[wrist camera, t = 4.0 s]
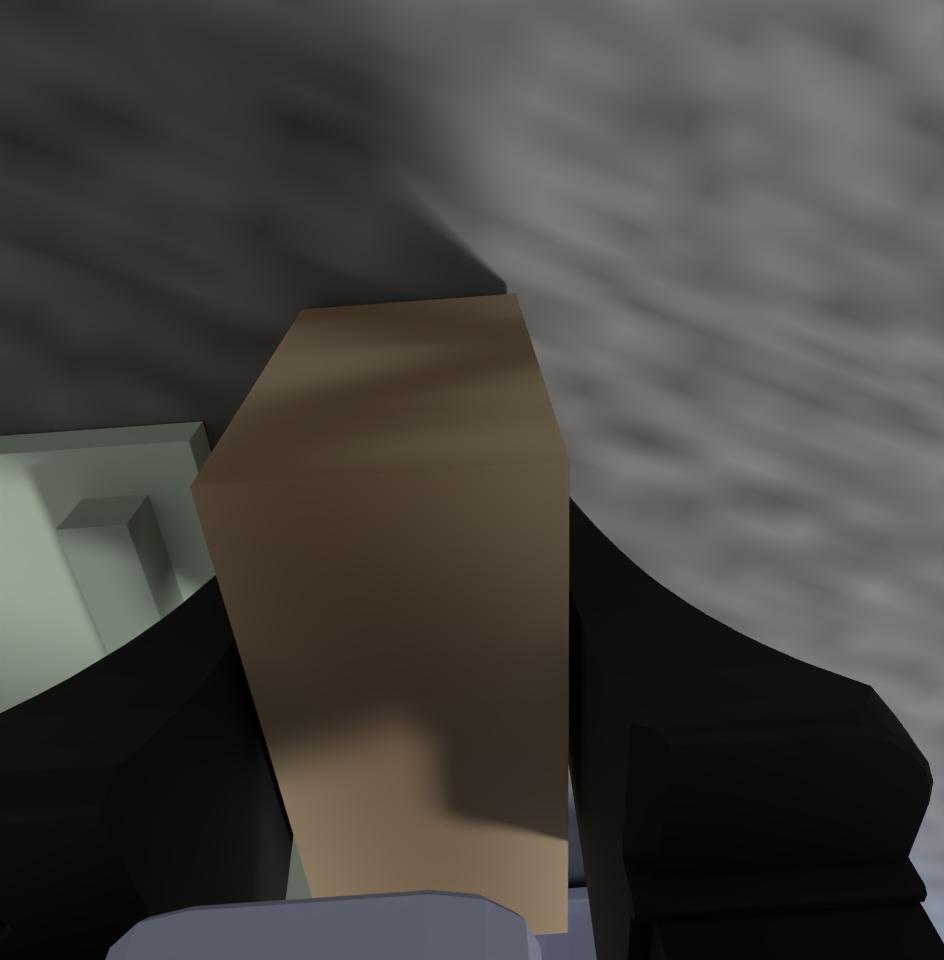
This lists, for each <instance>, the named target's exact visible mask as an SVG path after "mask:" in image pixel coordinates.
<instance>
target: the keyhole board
mask: <svg viewBox="0 0 944 960" xmlns="http://www.w3.org/2000/svg"><path fill="white" fill-rule="evenodd" d="M210 454H211V450H210V446H209V443H208V439H207V435H206V432H205V428H204V424H203V421H201V422H187V423H173V424H160V425H146V426H132V427H118V428H104V429H90V430H76V431H63V432H49V433H35V434H21V435H7V436H0V713H1V712H3V711H6V710H8V709H10V708H12V707H14V706H16V705H18V704H20V703H22V702H24V701H26V700H28V699H30V698H32V697H34V696H36V695H38V694H40V693H42V692H44V691H46V690H48V689H49V688H51V687H53V686H55V685H57V684H59V683H61V682H63V681H65V680H66V679H68V678H70V677H72V676H74V675H75V674H77V673H79V672H80V671H82V670H84V669H85V668H87V667H89V666H90V665H92V664H94V663H95V662H97V661H98V660H100V659H102V658H103V657H105V656H107V655H108V654H110V653H112V652H113V651H115V650H117V649H118V648H120V647H122V646H123V645H125V644H126V643H128V642H129V641H131V640H132V639H134V638H135V637H137V636H138V635H140V634H141V633H143V632H144V631H145V630H147V629H148V628H150V627H151V626H153V625H154V624H155V623H157V622H158V621H160V620H161V619H162V618H164V617H165V616H166V615H168V614H169V613H170V612H172V611H173V610H174V609H175V608H177V607H178V606H179V605H181V604H182V603H183V602H184V601H185V600H187V599H188V598H189V597H190V596H191V595H192V594H194V593H195V592H196V591H197V590H198V589H199V588H201V587H202V586H203V585H204V584H205V583H207V582H208V581H209V580H210V579H211V578H212V577H214V576H215V575H216V574H215V570H214V567H213V563H212V560H211V557H210V553H209V550H208V547H207V543H206V540H205V537H204V533H203V530H202V527H201V523H200V520H199V517H198V513H197V510H196V507H195V503H194V500H193V497H192V493H191V490H190V486H191V484H192V483H193V481H194V480H195V478H196V476H197V475H198V473H199V472H200V470H201V468H202V467H203V465H204V464H205V462H206V461H207V459H208V457H209V456H210ZM306 898H312V895H311V891H310V888H309V885H308V881H307V878H306V875H305V871H304V868H303V865H302V861H301V858H300V855H299V851H298V848H297V845H296V841H295V838H294V836H293V844H292V852H291V861H290V869H289V877H288V885H287V894H286V900H292V899H306Z"/></svg>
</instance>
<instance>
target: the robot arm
mask: <svg viewBox="0 0 944 960" xmlns="http://www.w3.org/2000/svg"><path fill="white" fill-rule="evenodd" d="M568 763H569V770H570V776H571V783H572V789H573V796H574V803H575V809H576V816H577V823H578V829H579V836H580V843H581V850H582V857H583V864H584V871H585V878H586V885H587V887H578V888H568V933H556V934H541V935H534V934H533V932H532V930H531V928H530V927H529V925H528V923H527V921H526V919H525V918H523V917H522V916H520V915H519V914H518V913H516V912H515V911H512V910H510V909H508V908H506V907H504V906H502V905H500V904H498V903H496V902H494V901H492V900H490V899H488V898H486V897H484V896H482V895H480V894H471V893H459V892H447V891H436V890H422V891H408V892H393V893H379V894H364V895H350V896H335V897H321V898H306V899H292V900H286V894H287V885H288V877H289V869H290V861H291V852H292V844H293V836H294V835H293V831H292V828H291V825H290V821H289V818H288V814H287V811H286V808H285V804H284V801H283V798H282V794H281V791H280V788H279V784H278V781H277V778H276V774H275V771H274V768H273V764H272V761H271V758H270V754H269V751H268V748H267V744H266V741H265V738H264V734H263V731H262V727H261V724H260V721H259V717H258V714H257V711H256V707H255V704H254V701H253V697H252V694H251V691H250V687H249V684H248V681H247V677H246V674H245V671H244V667H243V664H242V661H241V657H240V654H239V650H238V647H237V644H236V640H235V637H234V634H233V630H232V627H231V624H230V620H229V617H228V614H227V610H226V607H225V604H224V600H223V597H222V594H221V590H220V587H219V584H218V580H217V577H216V575H215V576H214V577H212V578H211V579H210V580H209V581H208V582H207V583H205V584H204V585H203V586H202V587H201V588H199V589H198V590H197V591H196V592H195V593H194V594H192V595H191V596H190V597H189V598H188V599H187V600H185V601H184V602H183V603H182V604H181V605H179V606H178V607H177V608H175V609H174V610H173V611H172V612H170V613H169V614H168V615H166V616H165V617H164V618H162V619H161V620H160V621H158V622H157V623H155V624H154V625H153V626H151V627H150V628H148V629H147V630H145V631H144V632H143V633H141V634H140V635H138V636H137V637H135V638H134V639H132V640H131V641H129V642H128V643H126V644H125V645H123V646H122V647H120V648H118V649H117V650H115V651H113V652H112V653H110V654H108V655H107V656H105V657H103V658H102V659H100V660H98V661H97V662H95V663H94V664H92V665H90V666H89V667H87V668H85V669H84V670H82V671H80V672H79V673H77V674H75V675H74V676H72V677H70V678H68V679H66V680H65V681H63V682H61V683H59V684H57V685H55V686H53V687H51V688H49V689H48V690H46V691H44V692H42V693H40V694H38V695H36V696H34V697H32V698H30V699H28V700H26V701H24V702H22V703H20V704H18V705H16V706H14V707H12V708H10V709H8V710H6V711H3V712H1V713H0V960H944V943H943V941H942V940H941V938H940V936H939V934H938V933H937V931H936V929H935V927H934V926H933V924H932V922H931V920H930V919H929V917H928V915H927V914H926V912H925V910H924V908H923V907H922V905H921V903H920V902H924V901H925V898H926V896H927V892H926V887H925V884H924V883H923V881H922V879H921V878H920V876H919V874H918V873H917V871H916V869H915V868H914V866H913V864H912V863H911V861H910V859H909V857H908V856H909V854H910V851H911V849H912V846H913V843H914V841H915V838H916V836H917V833H918V830H919V828H920V825H921V823H922V820H923V818H924V815H925V812H926V810H927V807H928V805H929V802H930V796H931V791H932V786H933V779H932V775H931V771H930V767H929V763H928V761H927V760H926V758H925V757H924V755H923V754H922V753H921V751H920V750H919V748H918V747H917V746H916V744H915V743H914V741H913V740H912V738H911V737H910V735H909V734H908V732H907V731H906V730H905V728H904V727H903V725H902V724H901V723H900V721H899V720H898V718H897V717H896V716H895V714H894V713H893V712H892V711H891V710H890V709H889V707H888V706H887V705H886V704H885V703H884V701H883V700H882V699H881V698H880V697H879V695H878V694H877V693H876V692H875V691H874V689H873V688H872V687H871V686H869V685H866V684H864V683H861V682H858V681H855V680H853V679H850V678H847V677H844V676H841V675H839V674H836V673H833V672H830V671H827V670H825V669H822V668H819V667H816V666H813V665H811V664H808V663H805V662H803V661H800V660H798V659H795V658H793V657H791V656H789V655H786V654H784V653H782V652H780V651H777V650H775V649H773V648H770V647H768V646H766V645H764V644H761V643H759V642H757V641H755V640H753V639H751V638H749V637H747V636H745V635H743V634H741V633H739V632H737V631H735V630H733V629H732V628H730V627H728V626H726V625H724V624H723V623H721V622H719V621H717V620H715V619H714V618H712V617H710V616H708V615H706V614H705V613H703V612H702V611H700V610H698V609H697V608H695V607H693V606H692V605H690V604H689V603H687V602H686V601H684V600H683V599H681V598H680V597H678V596H677V595H675V594H674V593H672V592H671V591H670V590H668V589H667V588H665V587H664V586H662V585H661V584H660V583H658V582H657V581H656V580H654V579H653V578H652V577H650V576H649V575H648V574H647V573H645V572H644V571H643V570H642V569H641V568H640V567H638V566H637V565H636V564H635V563H634V562H632V561H631V560H630V559H629V558H628V557H627V556H626V555H625V554H624V553H623V552H621V551H620V550H619V549H618V548H617V547H616V546H615V545H614V544H613V543H612V542H611V541H610V540H609V539H608V538H607V537H606V536H605V535H604V534H603V533H602V532H601V531H600V530H599V529H598V528H597V527H596V526H595V525H594V524H593V522H592V521H591V520H590V519H589V518H588V517H587V516H586V515H585V514H584V513H583V511H582V510H581V509H580V508H579V507H578V506H577V505H576V503H575V502H574V501H573V500H572V499H571V497H570V496H569V737H568Z"/></svg>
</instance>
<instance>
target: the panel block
mask: <svg viewBox="0 0 944 960" xmlns="http://www.w3.org/2000/svg"><path fill="white" fill-rule="evenodd" d="M190 490H191V493H192V497H193V500H194V503H195V507H196V510H197V513H198V517H199V520H200V523H201V527H202V530H203V533H204V537H205V540H206V543H207V547H208V550H209V553H210V557H211V560H212V563H213V567H214V570H215V574H216V577H217V580H218V584H219V587H220V590H221V594H222V597H223V600H224V604H225V607H226V610H227V614H228V617H229V620H230V624H231V627H232V630H233V634H234V637H235V640H236V644H237V647H238V650H239V654H240V657H241V661H242V664H243V667H244V671H245V674H246V677H247V681H248V684H249V687H250V691H251V694H252V697H253V701H254V704H255V707H256V711H257V714H258V717H259V721H260V724H261V727H262V731H263V734H264V738H265V741H266V744H267V748H268V751H269V754H270V758H271V761H272V764H273V768H274V771H275V774H276V778H277V781H278V784H279V788H280V791H281V794H282V798H283V801H284V804H285V808H286V811H287V814H288V818H289V821H290V825H291V828H292V831H293V835H294V838H295V841H296V845H297V848H298V851H299V855H300V858H301V861H302V865H303V868H304V871H305V875H306V878H307V881H308V885H309V888H310V891H311V895H312V898H321V897H335V896H350V895H364V894H379V893H393V892H408V891H422V890H436V891H447V892H459V893H471V894H480V895H482V896H484V897H486V898H488V899H490V900H492V901H494V902H496V903H498V904H500V905H502V906H504V907H506V908H508V909H510V910H512V911H515V912H516V913H518V914H519V915H520V916H522V917H523V918H525V919H526V921H527V923H528V925H529V927H530V928H531V930H532V932H533V934H534V935H541V934H556V933H568V737H569V457H568V454H567V451H566V448H565V445H564V442H563V439H562V436H561V432H560V429H559V426H558V423H557V420H556V417H555V414H554V411H553V408H552V405H551V401H550V398H549V395H548V392H547V389H546V386H545V383H544V380H543V377H542V374H541V371H540V367H539V364H538V361H537V358H536V355H535V352H534V349H533V346H532V343H531V340H530V337H529V333H528V330H527V327H526V324H525V321H524V318H523V315H522V312H521V309H520V306H519V302H518V299H517V296H516V294H504V295H490V296H477V297H463V298H449V299H435V300H421V301H407V302H394V303H380V304H366V305H352V306H338V307H325V308H311V309H302V310H301V311H300V313H299V314H298V316H297V318H296V319H295V321H294V322H293V324H292V325H291V327H290V329H289V330H288V332H287V333H286V335H285V337H284V338H283V340H282V341H281V343H280V345H279V346H278V348H277V349H276V351H275V352H274V354H273V356H272V357H271V359H270V360H269V362H268V364H267V365H266V367H265V368H264V370H263V372H262V373H261V375H260V376H259V378H258V379H257V381H256V383H255V384H254V386H253V387H252V389H251V391H250V392H249V394H248V395H247V397H246V399H245V400H244V402H243V403H242V405H241V406H240V408H239V410H238V411H237V413H236V414H235V416H234V418H233V419H232V421H231V422H230V424H229V426H228V427H227V429H226V430H225V432H224V434H223V435H222V437H221V438H220V440H219V441H218V443H217V445H216V446H215V448H214V449H213V451H212V453H211V454H210V456H209V457H208V459H207V461H206V462H205V464H204V465H203V467H202V468H201V470H200V472H199V473H198V475H197V476H196V478H195V480H194V481H193V483H192V484H191V486H190Z"/></svg>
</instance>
